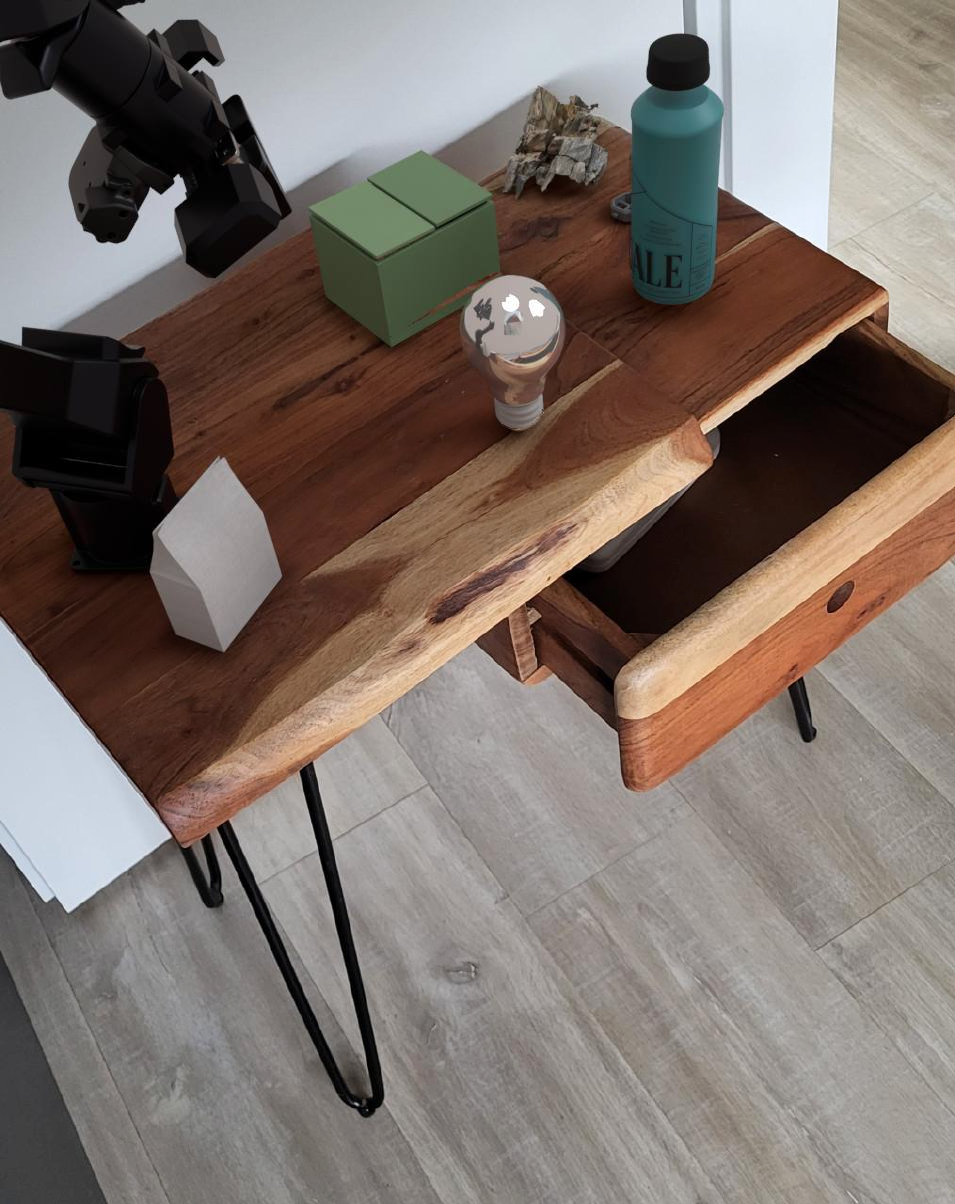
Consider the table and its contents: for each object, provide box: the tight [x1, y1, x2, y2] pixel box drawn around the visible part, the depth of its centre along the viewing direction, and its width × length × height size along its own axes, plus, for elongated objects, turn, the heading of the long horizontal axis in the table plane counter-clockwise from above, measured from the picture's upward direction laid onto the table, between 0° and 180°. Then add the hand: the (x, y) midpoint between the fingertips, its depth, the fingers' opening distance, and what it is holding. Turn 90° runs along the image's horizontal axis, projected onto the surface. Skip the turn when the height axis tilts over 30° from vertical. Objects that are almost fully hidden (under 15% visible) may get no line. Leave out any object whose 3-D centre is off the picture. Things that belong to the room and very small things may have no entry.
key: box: [610, 191, 631, 223], centre depth 109 cm, size 12×1×3 cm
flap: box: [307, 179, 435, 259], centre depth 97 cm, size 5×9×1 cm, turn 39°
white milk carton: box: [149, 455, 283, 653], centre depth 80 cm, size 4×7×10 cm, turn 153°
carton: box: [308, 149, 502, 348], centre depth 101 cm, size 11×9×8 cm
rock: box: [502, 85, 609, 200], centre depth 112 cm, size 8×15×4 cm, turn 165°
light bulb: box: [458, 273, 567, 432], centre depth 88 cm, size 7×7×12 cm
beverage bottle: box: [628, 32, 725, 306], centre depth 93 cm, size 6×7×20 cm
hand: (285, 212), depth 90 cm, fingers closed
